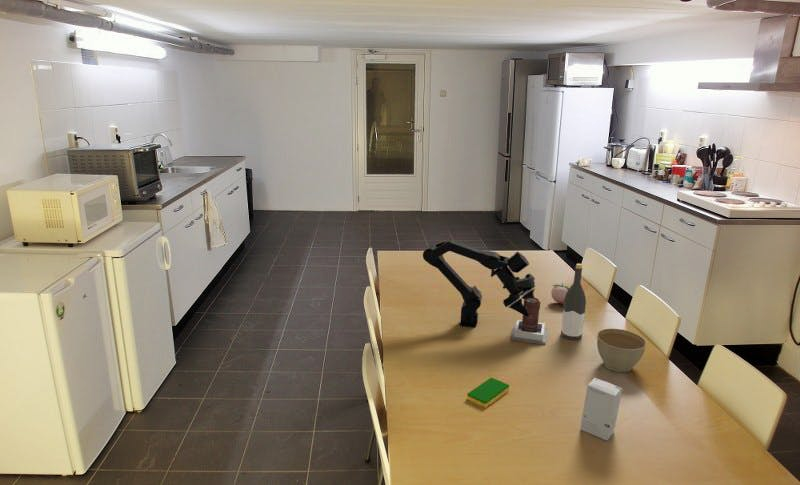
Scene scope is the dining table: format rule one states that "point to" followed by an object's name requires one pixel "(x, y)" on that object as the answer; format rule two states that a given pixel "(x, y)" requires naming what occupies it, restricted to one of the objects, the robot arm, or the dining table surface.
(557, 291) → the decorative fruit
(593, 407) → the skincare box
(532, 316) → the can
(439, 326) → the dining table surface
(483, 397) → the dish sponge
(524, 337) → the tray
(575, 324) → the wine bottle
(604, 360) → the planter bowl
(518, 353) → the dining table surface
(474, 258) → the robot arm
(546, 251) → the dining table surface
